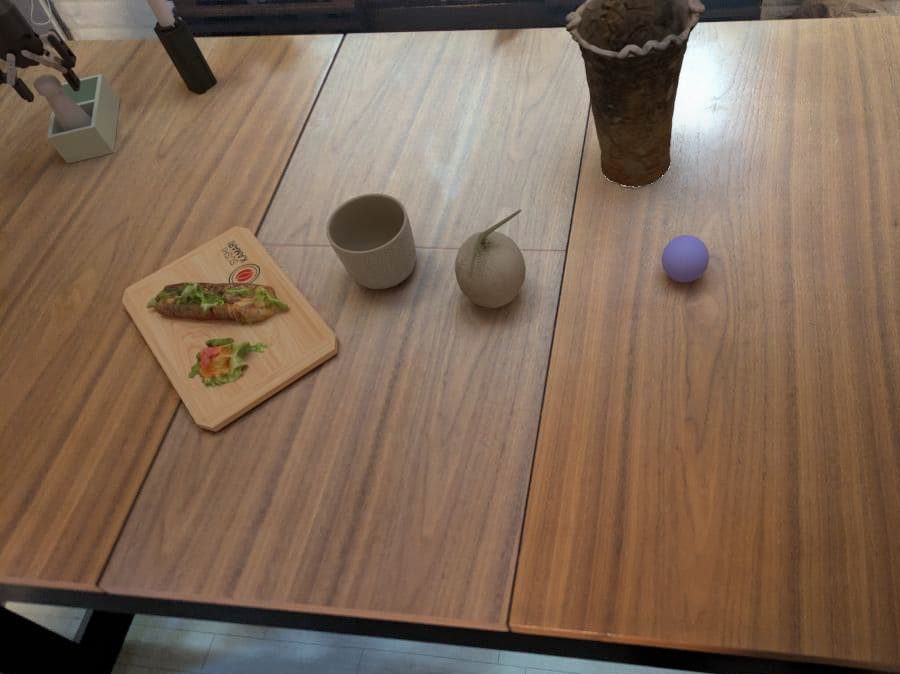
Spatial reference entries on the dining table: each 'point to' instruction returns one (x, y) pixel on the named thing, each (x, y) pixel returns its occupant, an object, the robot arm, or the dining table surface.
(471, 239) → the fruit
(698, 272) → the sphere
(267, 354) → the cutting board
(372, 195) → the planter
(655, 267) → the dining table surface
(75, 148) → the box
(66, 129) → the salt shaker
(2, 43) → the robot arm
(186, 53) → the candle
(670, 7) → the vase
